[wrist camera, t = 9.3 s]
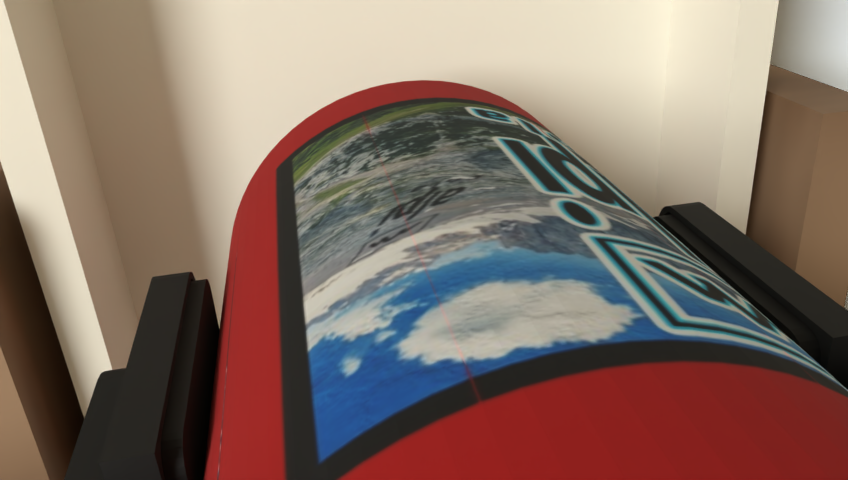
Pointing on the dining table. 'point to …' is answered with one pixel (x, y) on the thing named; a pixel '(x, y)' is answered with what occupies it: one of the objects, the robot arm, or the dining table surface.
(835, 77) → the dining table surface
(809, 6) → the dining table surface
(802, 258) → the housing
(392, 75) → the tray
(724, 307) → the beverage can
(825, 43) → the dining table surface
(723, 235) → the robot arm
